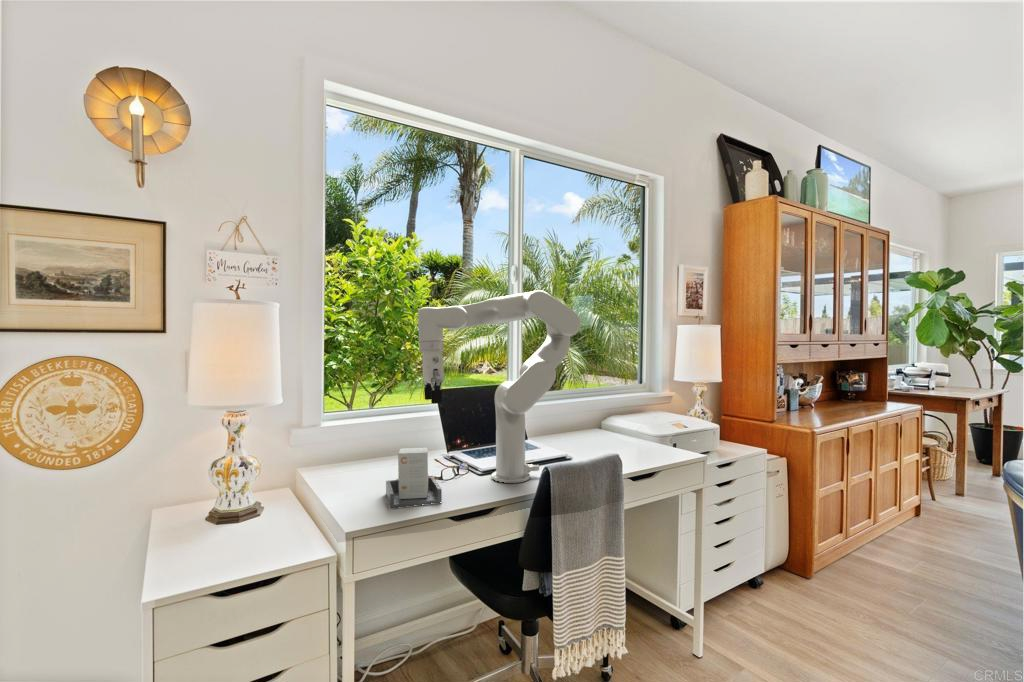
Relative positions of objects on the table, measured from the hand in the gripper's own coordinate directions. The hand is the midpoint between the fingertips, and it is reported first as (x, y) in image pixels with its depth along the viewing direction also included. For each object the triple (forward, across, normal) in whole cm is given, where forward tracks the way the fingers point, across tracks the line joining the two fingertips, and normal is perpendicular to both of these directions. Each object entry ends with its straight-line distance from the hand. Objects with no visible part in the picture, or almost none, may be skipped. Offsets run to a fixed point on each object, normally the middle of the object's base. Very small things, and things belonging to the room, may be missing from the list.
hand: (433, 401), depth 159 cm
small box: (+25, -12, +9) cm, 29 cm away
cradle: (+26, -12, +10) cm, 30 cm away
